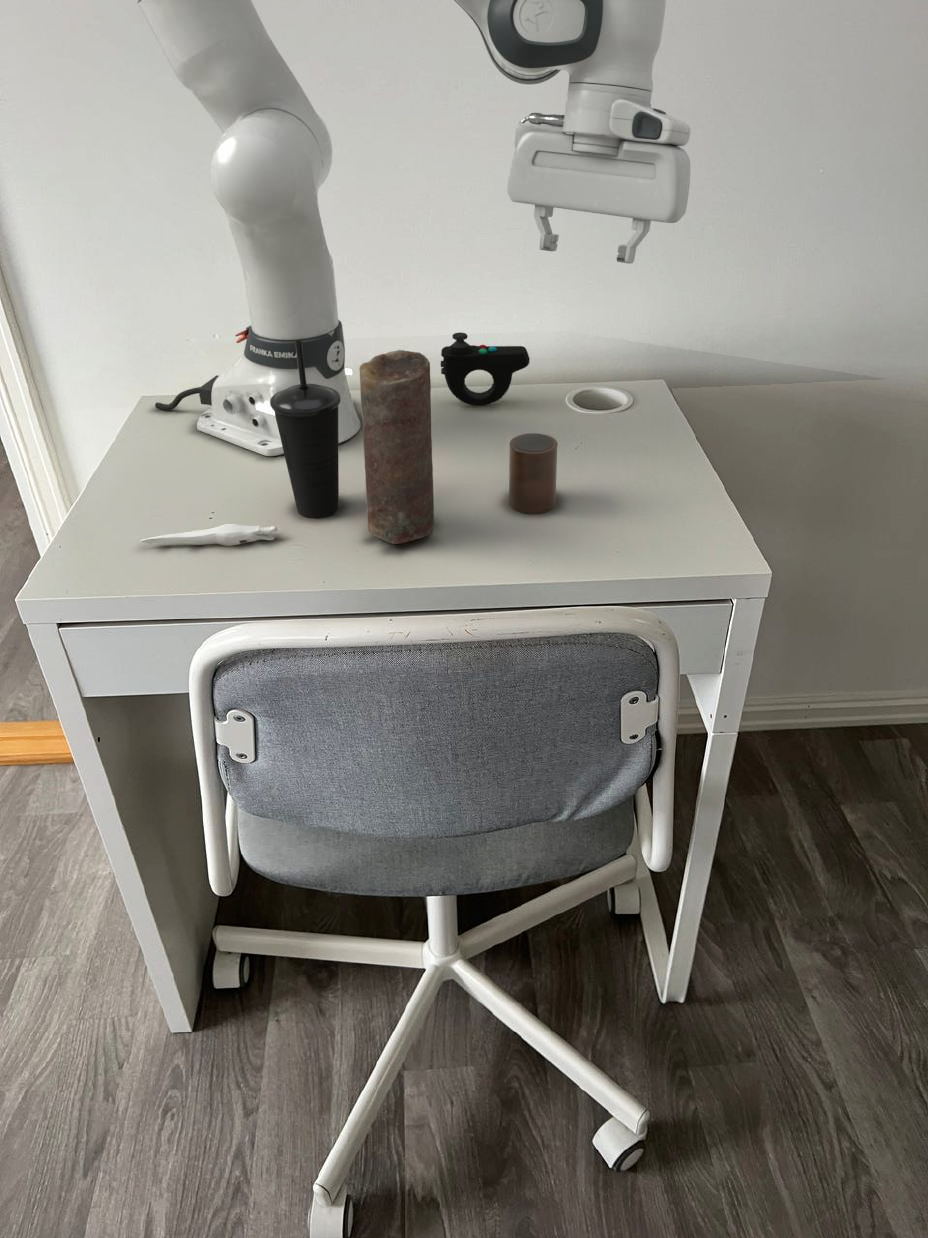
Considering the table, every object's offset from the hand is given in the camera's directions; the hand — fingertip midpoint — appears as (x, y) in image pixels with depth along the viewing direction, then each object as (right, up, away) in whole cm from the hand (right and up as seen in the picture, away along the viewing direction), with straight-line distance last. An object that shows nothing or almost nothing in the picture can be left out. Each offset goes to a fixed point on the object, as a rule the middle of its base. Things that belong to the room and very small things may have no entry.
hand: (585, 256), depth 110 cm
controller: (-11, -10, +29) cm, 33 cm away
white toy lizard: (-42, -33, -1) cm, 53 cm away
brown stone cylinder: (-21, -32, -1) cm, 38 cm away
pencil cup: (-6, -27, +5) cm, 28 cm away
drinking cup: (-31, -28, +5) cm, 42 cm away
